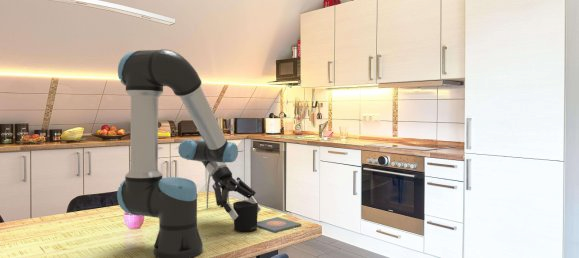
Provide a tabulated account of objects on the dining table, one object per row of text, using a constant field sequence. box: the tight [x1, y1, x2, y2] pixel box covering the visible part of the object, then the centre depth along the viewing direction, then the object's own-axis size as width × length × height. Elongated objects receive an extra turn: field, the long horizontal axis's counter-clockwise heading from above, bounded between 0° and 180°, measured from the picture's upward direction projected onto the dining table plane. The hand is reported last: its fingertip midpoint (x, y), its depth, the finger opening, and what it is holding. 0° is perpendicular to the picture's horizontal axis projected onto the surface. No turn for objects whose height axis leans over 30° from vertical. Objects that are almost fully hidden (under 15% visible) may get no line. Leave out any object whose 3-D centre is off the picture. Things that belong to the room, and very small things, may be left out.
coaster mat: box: [257, 216, 302, 233], centre depth 167 cm, size 14×14×1 cm
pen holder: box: [232, 200, 259, 233], centre depth 161 cm, size 9×9×10 cm
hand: (247, 214), depth 161 cm, fingers open, 13 cm apart
